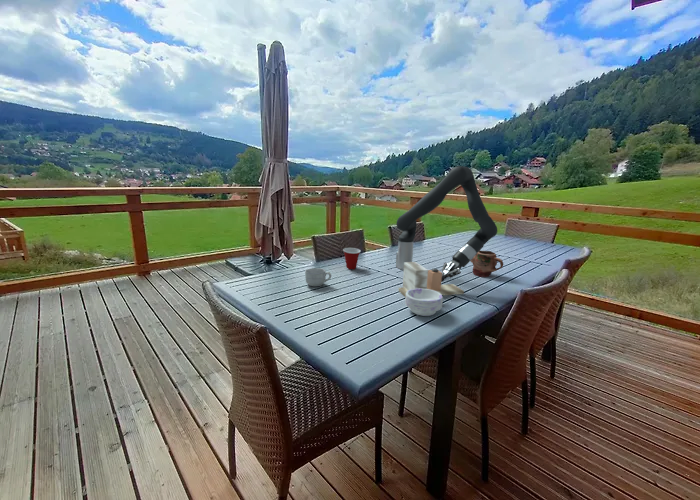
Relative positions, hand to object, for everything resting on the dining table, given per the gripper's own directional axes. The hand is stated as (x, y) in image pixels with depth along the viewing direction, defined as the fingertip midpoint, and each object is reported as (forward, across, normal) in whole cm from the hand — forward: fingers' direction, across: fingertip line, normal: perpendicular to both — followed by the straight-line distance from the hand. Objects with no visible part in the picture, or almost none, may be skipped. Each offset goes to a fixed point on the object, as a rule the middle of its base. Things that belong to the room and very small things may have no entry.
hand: (439, 280), depth 147 cm
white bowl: (+17, +20, -8) cm, 27 cm away
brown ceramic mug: (-24, -19, +32) cm, 44 cm away
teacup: (+45, -20, -37) cm, 62 cm away
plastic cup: (+28, -46, -20) cm, 58 cm away
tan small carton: (+5, 0, +1) cm, 5 cm away
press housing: (+7, 0, +1) cm, 7 cm away
